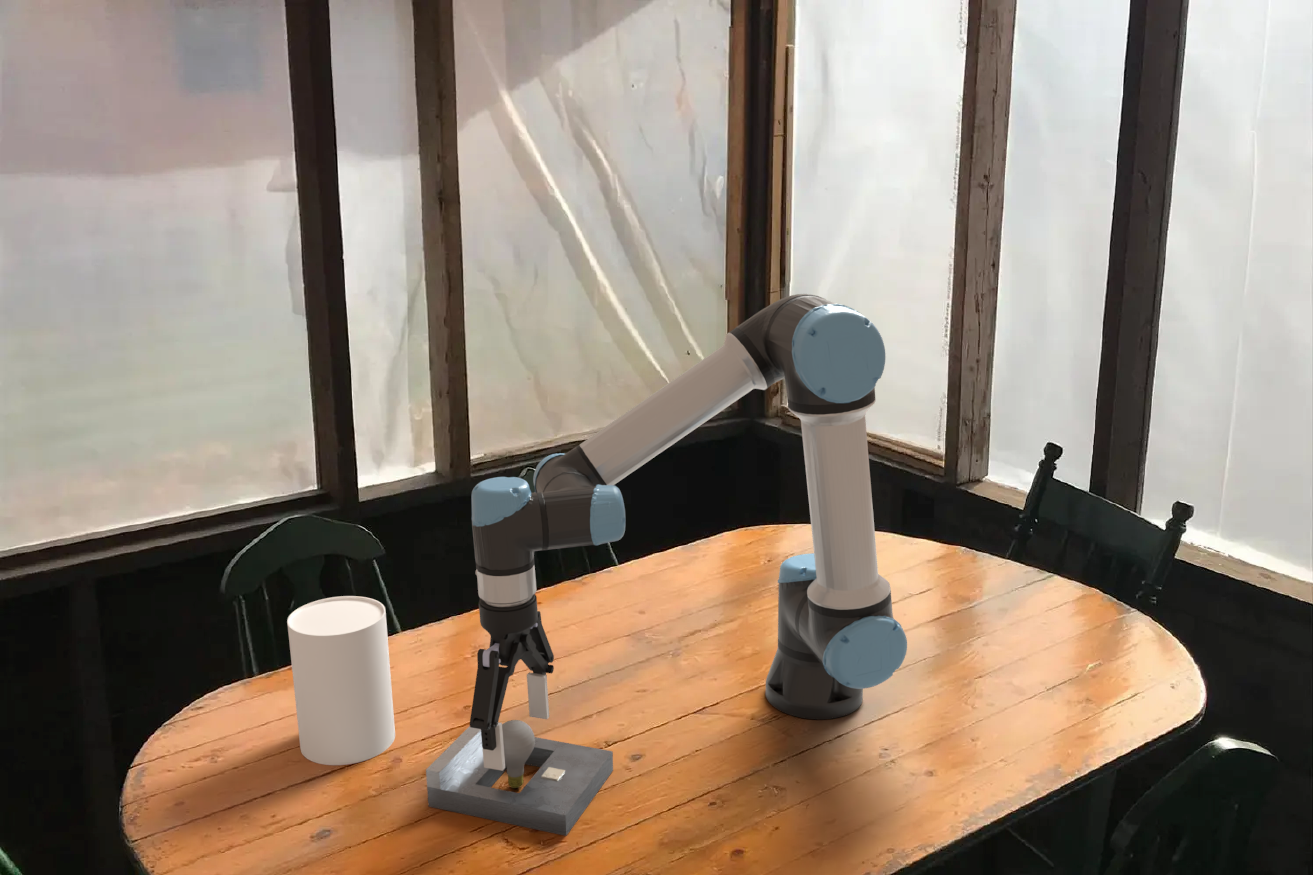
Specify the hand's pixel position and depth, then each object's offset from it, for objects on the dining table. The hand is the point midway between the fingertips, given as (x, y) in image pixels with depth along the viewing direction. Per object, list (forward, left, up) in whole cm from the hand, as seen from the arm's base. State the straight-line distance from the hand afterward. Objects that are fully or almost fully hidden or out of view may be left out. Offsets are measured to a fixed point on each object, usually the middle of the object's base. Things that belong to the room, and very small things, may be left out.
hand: (517, 741), depth 154 cm
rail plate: (-1, 0, -7) cm, 7 cm away
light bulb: (0, 0, -7) cm, 7 cm away
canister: (+29, -3, -7) cm, 30 cm away
